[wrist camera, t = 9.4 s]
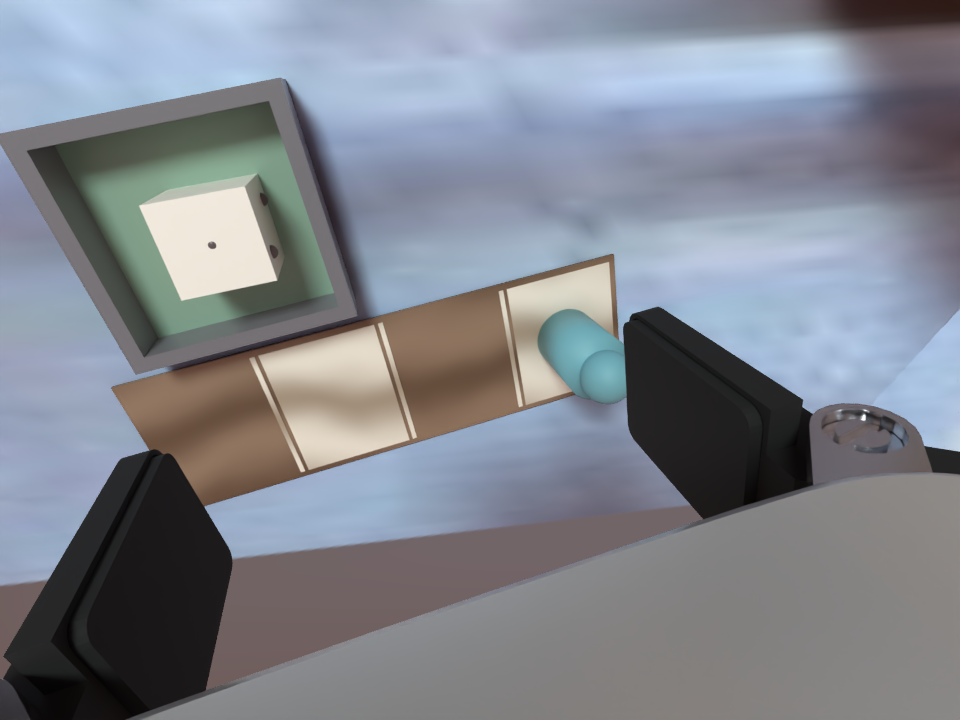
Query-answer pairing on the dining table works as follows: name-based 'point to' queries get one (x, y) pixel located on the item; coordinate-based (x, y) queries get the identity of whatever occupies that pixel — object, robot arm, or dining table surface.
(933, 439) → the dining table surface
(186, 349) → the tray
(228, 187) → the die
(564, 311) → the pawn
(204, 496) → the board
